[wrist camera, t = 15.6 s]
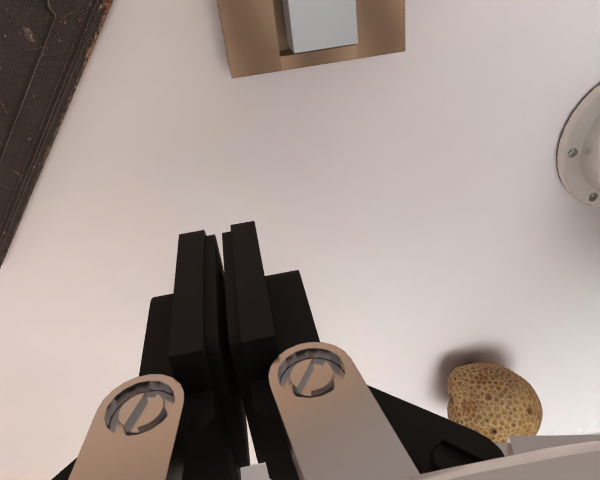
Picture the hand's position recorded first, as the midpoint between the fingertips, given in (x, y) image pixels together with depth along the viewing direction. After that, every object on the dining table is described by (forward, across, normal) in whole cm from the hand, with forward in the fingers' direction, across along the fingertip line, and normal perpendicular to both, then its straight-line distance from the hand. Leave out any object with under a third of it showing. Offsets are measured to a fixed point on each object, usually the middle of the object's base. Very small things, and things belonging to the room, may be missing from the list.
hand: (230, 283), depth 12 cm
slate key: (+26, -7, -3) cm, 27 cm away
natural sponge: (+29, -21, +37) cm, 52 cm away
